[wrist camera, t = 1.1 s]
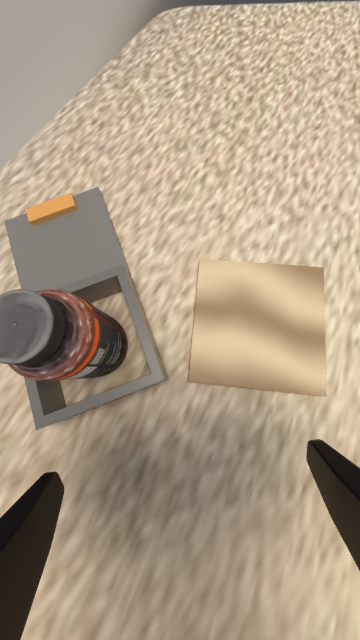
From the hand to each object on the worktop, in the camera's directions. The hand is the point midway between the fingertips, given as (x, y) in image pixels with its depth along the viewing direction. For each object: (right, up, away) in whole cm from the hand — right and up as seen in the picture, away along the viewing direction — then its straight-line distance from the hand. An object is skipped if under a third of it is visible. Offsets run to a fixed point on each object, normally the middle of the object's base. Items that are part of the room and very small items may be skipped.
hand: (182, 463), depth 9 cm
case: (-10, +8, +16) cm, 20 cm away
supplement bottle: (-8, +3, +15) cm, 17 cm away
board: (+7, +5, +14) cm, 17 cm away
